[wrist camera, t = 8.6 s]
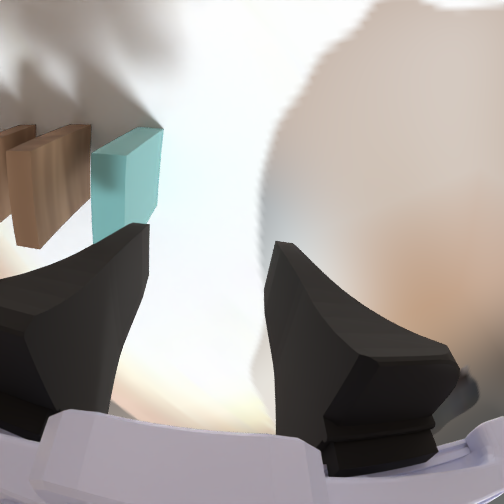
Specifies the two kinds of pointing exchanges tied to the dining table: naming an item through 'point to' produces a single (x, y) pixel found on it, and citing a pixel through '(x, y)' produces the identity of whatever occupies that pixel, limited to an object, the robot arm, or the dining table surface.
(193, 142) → the dining table surface
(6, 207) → the brown wooden block
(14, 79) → the dining table surface
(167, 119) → the dining table surface
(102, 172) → the domino
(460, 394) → the dining table surface
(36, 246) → the domino
